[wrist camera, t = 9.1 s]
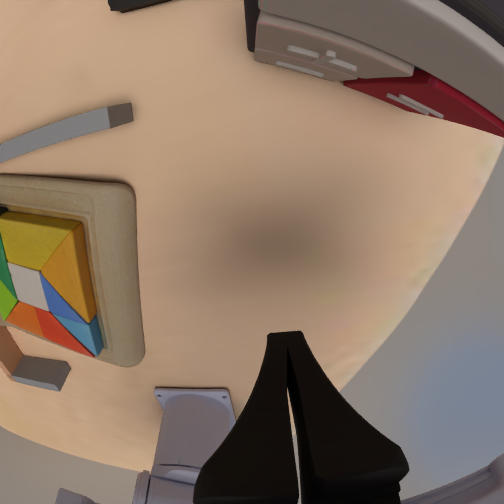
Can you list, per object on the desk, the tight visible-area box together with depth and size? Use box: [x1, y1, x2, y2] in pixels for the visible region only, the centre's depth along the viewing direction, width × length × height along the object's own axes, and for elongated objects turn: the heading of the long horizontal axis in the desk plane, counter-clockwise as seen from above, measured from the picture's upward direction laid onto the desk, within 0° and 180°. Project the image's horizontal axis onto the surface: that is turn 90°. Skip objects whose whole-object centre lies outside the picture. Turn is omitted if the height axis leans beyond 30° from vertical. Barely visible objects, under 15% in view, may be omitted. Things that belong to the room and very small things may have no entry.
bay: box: [0, 103, 133, 392], centre depth 21 cm, size 24×24×4 cm
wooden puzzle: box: [0, 174, 145, 367], centre depth 21 cm, size 18×19×4 cm
